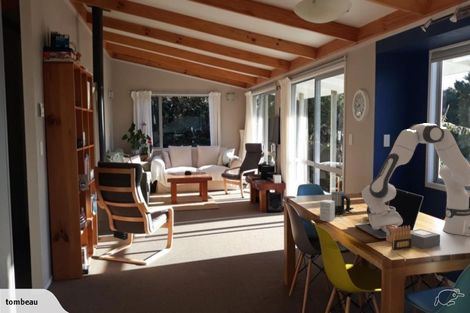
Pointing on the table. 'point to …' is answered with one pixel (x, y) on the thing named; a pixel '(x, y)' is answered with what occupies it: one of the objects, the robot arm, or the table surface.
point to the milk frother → (341, 202)
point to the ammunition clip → (401, 238)
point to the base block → (424, 239)
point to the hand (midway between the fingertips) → (393, 233)
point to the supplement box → (327, 210)
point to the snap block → (390, 237)
